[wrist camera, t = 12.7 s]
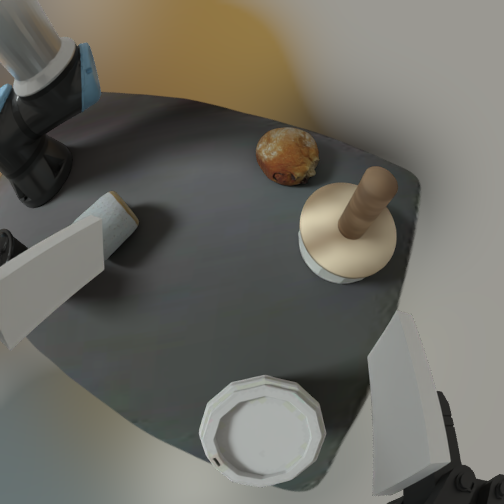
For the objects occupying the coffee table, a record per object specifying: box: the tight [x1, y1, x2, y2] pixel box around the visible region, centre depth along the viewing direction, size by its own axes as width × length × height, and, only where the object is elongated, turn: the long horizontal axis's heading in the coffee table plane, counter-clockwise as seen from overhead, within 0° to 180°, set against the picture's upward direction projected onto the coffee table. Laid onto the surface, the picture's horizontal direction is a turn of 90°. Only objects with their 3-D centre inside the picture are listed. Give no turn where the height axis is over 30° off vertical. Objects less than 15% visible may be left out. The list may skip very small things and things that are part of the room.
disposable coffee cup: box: [199, 375, 326, 487], centre depth 25 cm, size 11×11×15 cm
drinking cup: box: [0, 229, 28, 267], centre depth 28 cm, size 8×8×20 cm
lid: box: [300, 166, 398, 279], centre depth 29 cm, size 13×13×11 cm
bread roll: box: [256, 127, 320, 186], centre depth 42 cm, size 10×10×8 cm
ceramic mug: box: [73, 191, 139, 261], centre depth 37 cm, size 11×8×8 cm
